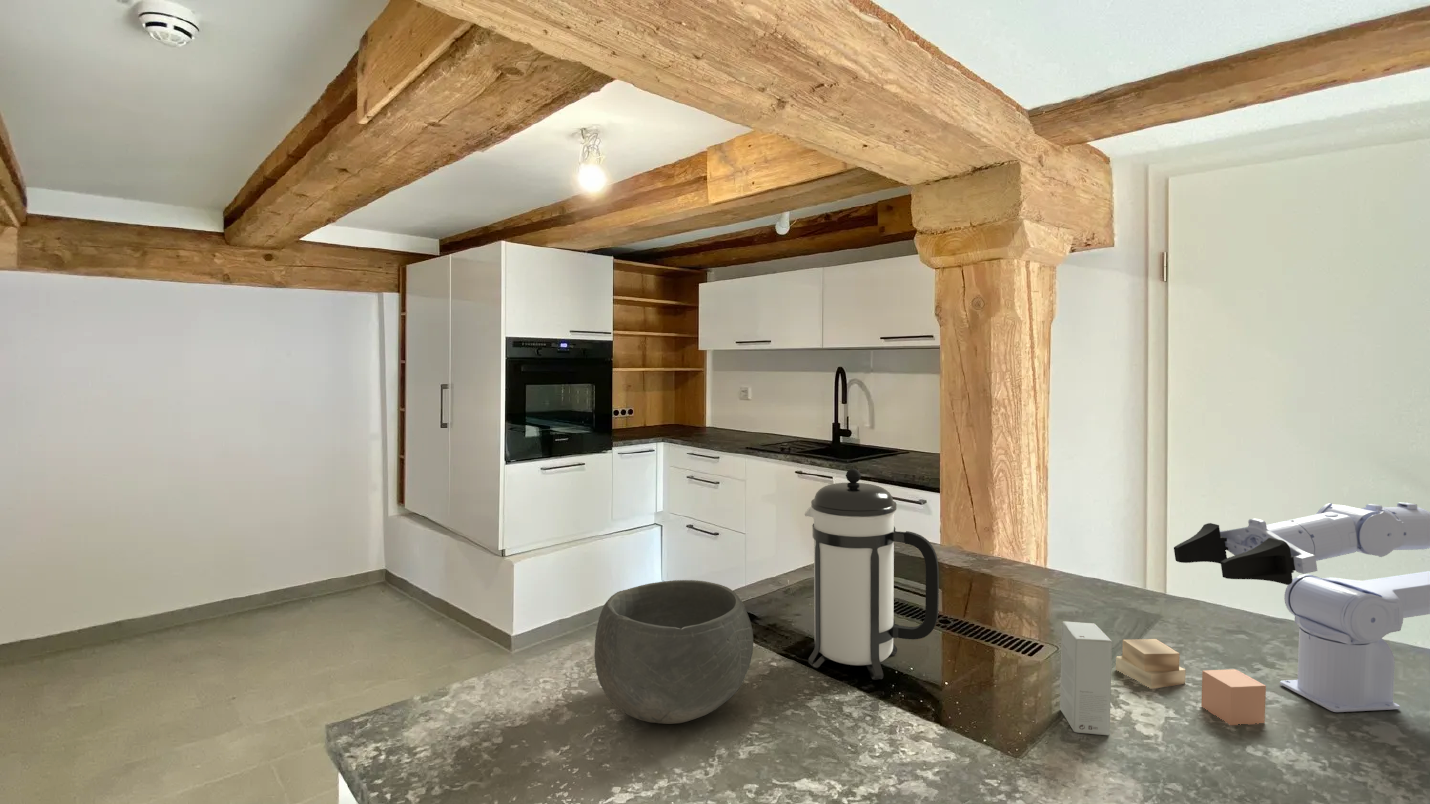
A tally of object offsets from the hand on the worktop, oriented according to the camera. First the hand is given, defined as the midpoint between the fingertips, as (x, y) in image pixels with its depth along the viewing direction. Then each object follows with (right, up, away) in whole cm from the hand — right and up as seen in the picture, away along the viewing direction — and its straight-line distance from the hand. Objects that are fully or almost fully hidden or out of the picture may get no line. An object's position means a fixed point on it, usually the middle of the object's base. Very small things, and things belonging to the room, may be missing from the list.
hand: (1199, 562), depth 88 cm
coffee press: (-41, -19, +16) cm, 48 cm away
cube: (+3, -20, -1) cm, 20 cm away
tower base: (0, -19, +10) cm, 22 cm away
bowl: (-69, -20, +2) cm, 72 cm away
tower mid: (0, -17, +9) cm, 19 cm away
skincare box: (-17, -20, -2) cm, 26 cm away
